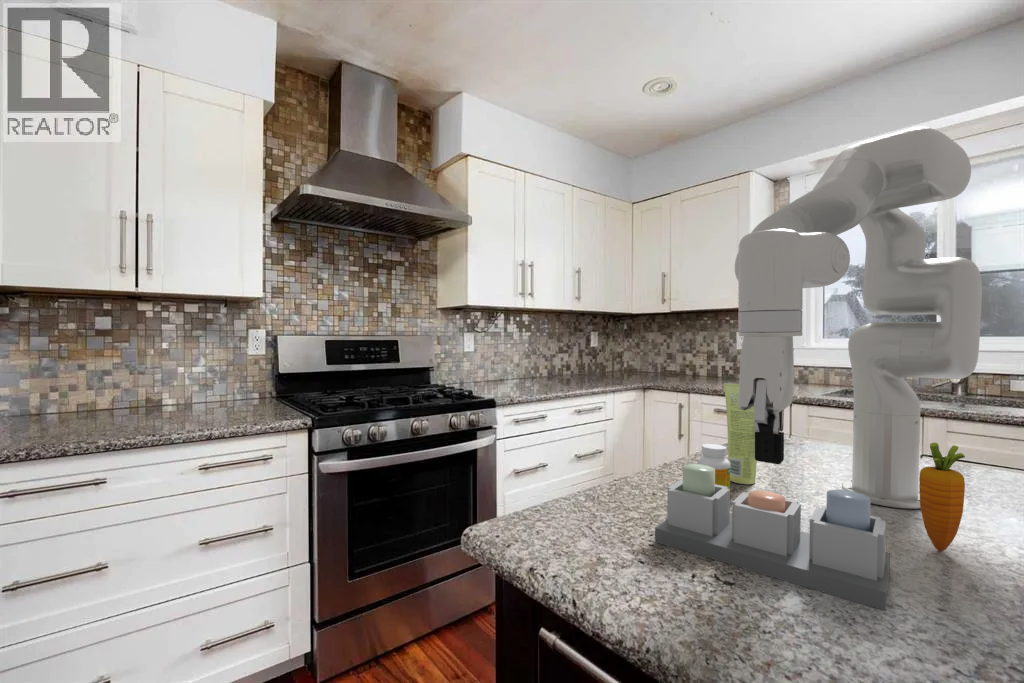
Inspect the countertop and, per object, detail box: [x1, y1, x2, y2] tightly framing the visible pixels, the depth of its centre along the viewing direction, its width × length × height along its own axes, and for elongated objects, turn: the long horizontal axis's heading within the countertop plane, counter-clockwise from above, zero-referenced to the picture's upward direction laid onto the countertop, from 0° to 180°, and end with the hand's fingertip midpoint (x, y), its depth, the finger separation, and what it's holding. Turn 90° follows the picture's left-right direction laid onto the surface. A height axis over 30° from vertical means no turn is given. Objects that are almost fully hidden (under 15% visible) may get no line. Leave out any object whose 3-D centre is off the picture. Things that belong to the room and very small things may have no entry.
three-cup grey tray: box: [654, 479, 892, 611], centre depth 65 cm, size 12×26×7 cm, turn 50°
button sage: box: [682, 463, 715, 497], centre depth 71 cm, size 4×4×5 cm
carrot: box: [919, 442, 966, 553], centre depth 66 cm, size 5×5×15 cm
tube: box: [723, 382, 758, 485], centre depth 96 cm, size 6×5×20 cm
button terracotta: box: [748, 490, 786, 513], centre depth 65 cm, size 4×4×5 cm
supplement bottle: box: [696, 443, 731, 490], centre depth 85 cm, size 5×5×10 cm
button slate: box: [826, 489, 872, 532], centre depth 59 cm, size 4×4×5 cm
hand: (769, 461), depth 65 cm, fingers closed
